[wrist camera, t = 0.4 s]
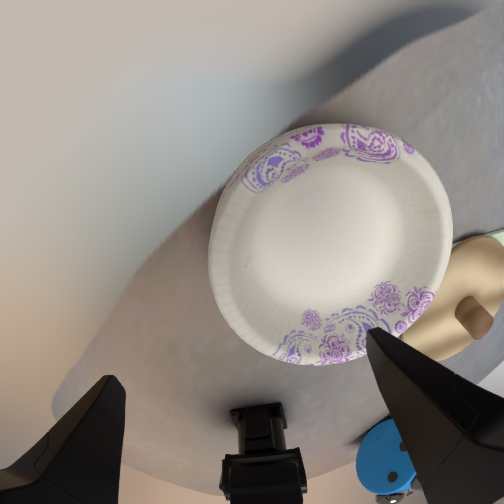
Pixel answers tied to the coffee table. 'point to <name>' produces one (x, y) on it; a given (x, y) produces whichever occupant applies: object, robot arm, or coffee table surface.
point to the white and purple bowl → (328, 242)
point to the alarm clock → (386, 464)
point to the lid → (461, 300)
